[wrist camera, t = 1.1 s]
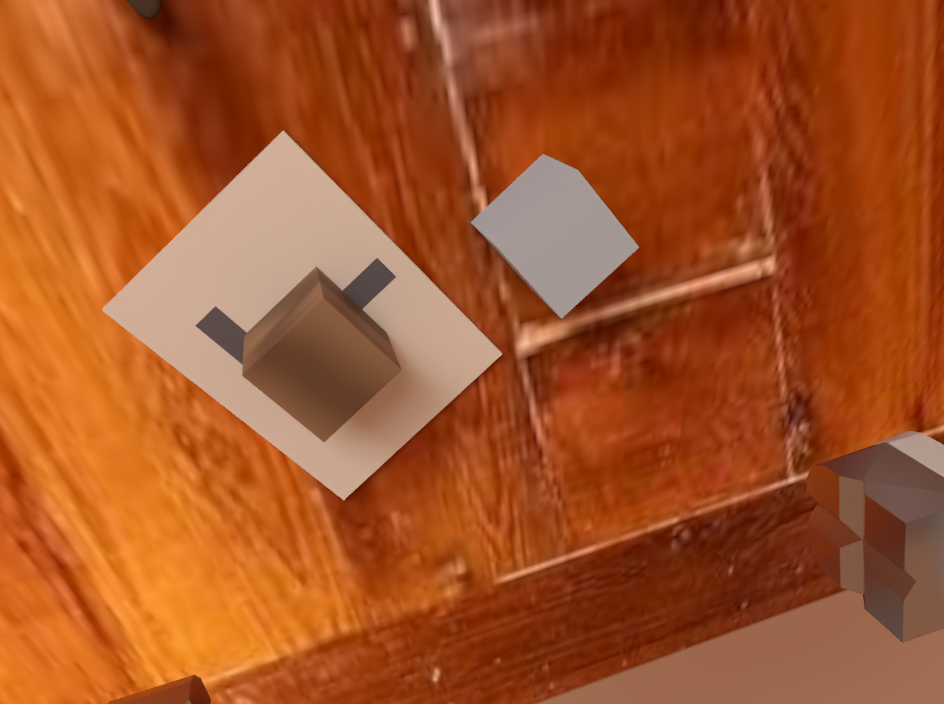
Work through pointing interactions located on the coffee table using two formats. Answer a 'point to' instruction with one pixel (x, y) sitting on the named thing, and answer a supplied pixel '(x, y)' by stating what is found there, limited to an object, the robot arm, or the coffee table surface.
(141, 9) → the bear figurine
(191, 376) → the letter card
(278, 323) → the walnut block
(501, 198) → the grey cube
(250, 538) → the coffee table surface
